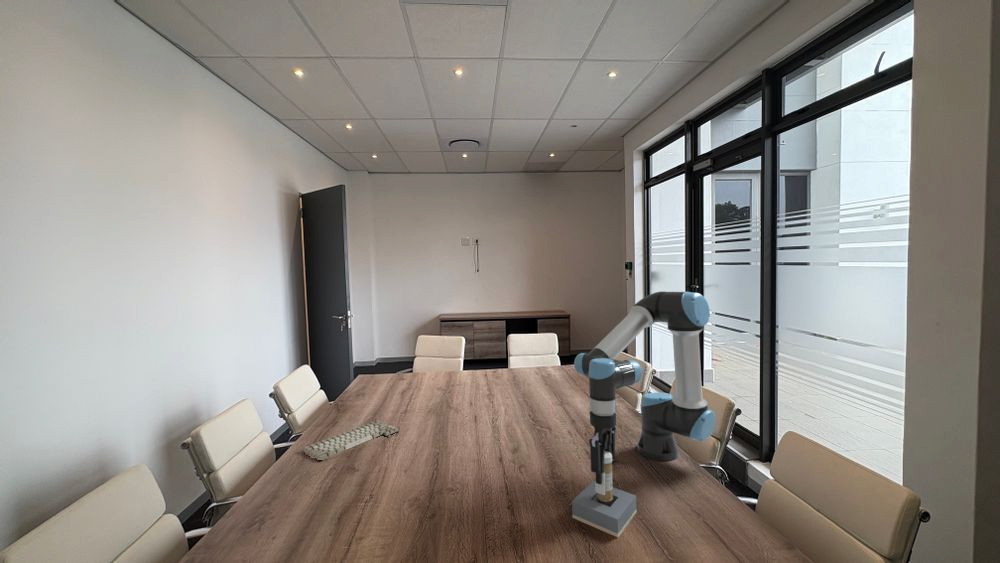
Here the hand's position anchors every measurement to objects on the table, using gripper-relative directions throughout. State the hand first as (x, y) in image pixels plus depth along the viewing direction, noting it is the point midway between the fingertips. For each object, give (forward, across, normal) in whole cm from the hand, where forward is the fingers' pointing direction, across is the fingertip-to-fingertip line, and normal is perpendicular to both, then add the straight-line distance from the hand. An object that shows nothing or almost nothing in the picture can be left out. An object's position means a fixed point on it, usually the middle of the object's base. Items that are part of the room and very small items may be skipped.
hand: (604, 489), depth 113 cm
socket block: (+8, 0, 0) cm, 8 cm away
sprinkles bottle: (+3, 0, 0) cm, 3 cm away
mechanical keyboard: (+9, +19, -110) cm, 112 cm away
